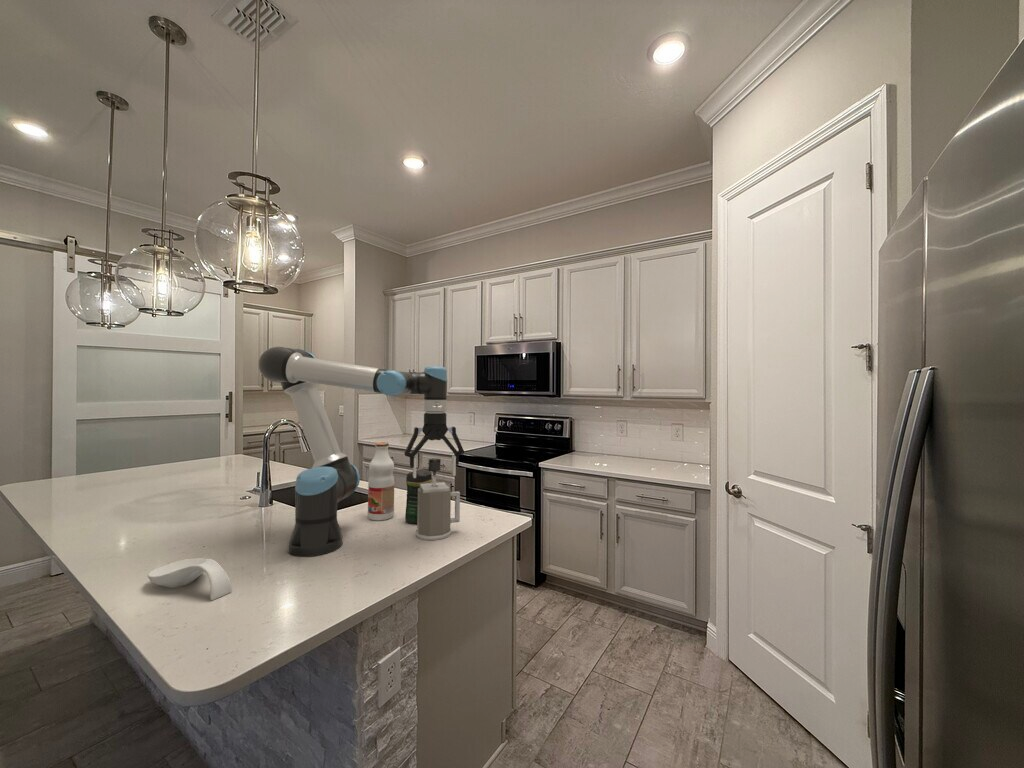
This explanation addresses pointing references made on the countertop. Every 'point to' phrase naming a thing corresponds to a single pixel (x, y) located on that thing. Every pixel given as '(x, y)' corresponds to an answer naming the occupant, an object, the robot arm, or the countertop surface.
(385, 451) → the fruit juice
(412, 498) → the coffee jar
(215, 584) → the spoon rest
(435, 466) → the plunger
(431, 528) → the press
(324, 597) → the countertop surface
